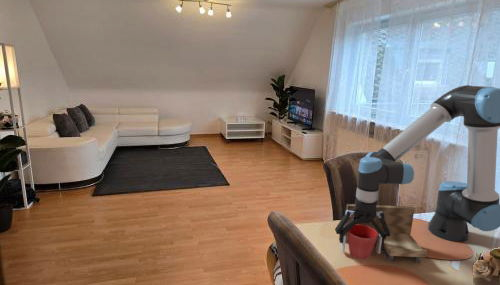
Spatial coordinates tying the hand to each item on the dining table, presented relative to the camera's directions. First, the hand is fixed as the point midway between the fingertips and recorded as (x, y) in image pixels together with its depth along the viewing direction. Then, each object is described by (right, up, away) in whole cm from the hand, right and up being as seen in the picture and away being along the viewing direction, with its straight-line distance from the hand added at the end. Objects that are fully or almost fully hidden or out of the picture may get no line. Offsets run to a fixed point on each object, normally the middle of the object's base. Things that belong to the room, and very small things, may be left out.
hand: (360, 250), depth 122 cm
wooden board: (+9, 0, +9) cm, 13 cm away
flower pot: (0, -2, 0) cm, 2 cm away
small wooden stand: (+15, -2, +1) cm, 15 cm away
